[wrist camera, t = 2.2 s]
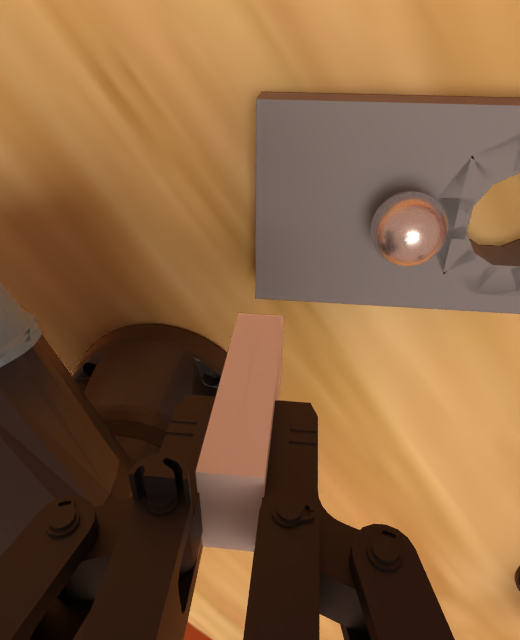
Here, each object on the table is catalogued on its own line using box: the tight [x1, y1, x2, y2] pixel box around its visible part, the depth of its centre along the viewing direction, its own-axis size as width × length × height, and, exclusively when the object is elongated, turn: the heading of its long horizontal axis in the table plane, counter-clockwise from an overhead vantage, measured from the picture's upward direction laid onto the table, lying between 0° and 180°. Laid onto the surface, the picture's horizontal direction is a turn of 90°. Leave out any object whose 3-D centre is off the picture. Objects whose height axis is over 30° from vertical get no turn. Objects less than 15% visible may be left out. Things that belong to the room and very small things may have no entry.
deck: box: [255, 92, 520, 314], centre depth 28 cm, size 20×12×3 cm, turn 90°
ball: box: [370, 191, 448, 267], centre depth 26 cm, size 4×4×4 cm
